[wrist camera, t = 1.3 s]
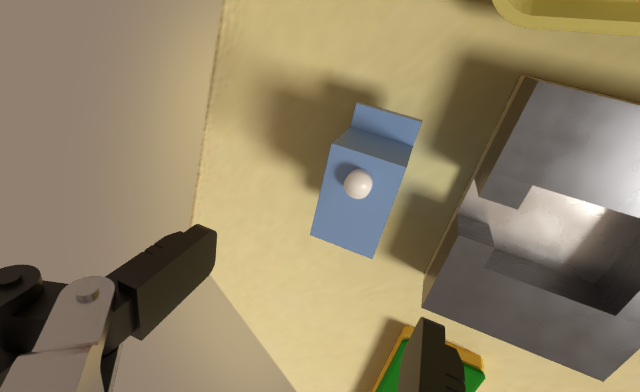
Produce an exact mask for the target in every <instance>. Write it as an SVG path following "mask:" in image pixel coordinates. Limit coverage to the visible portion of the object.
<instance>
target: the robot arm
mask: <svg viewBox="0 0 640 392" xmlns="http://www.w3.org/2000/svg"><path fill="white" fill-rule="evenodd" d="M216 243H217V233H216V231H214V230H212V229H209V228H207V227H204V226H202V225H200V224H196V225H194V226H192V227H191V228H190V229H188V230H187V231H186V232H184V233H183V232H181V231H179V232H176V233H173V234H170V235H167V236H165V237H163V238H162V239H161V240H159V241H158V242H156V243H155V244H154V245H152V246H150V247H149V248H147V249H146V250H145V251H144V252H141V253H140V254H138V255H137V256H135V257H134V258H132V259H131V260H129V261H128V262H127V263H125V264H123V265H122V266H121V267H119V268H118V269H116V270H115V271H113V272H112V273H110V274H109V275H107V276H105V277H101V276H90V277H85V278H81V279H79V280H76V281H74V282H72V283H70V284H64V283H56V282H49V281H42V278H41V274H40V271H39V270H38V269H37V268H36V267H34V266H30V265H13V266H9V267H4V268H1V269H0V392H112V391H113V387H114V382H115V378H116V373H117V369H118V364H119V359H120V355H121V350H122V342H123V341H124V340H125V339H126V338H127V337H129V336H130V335H131V336H133V337H135V338H137V339H139V340H141V341H142V340H143V339H144V338H145V337H146V336H147V335H148V334H149V333H150V332H151V331H152V330H153V329H154V328H155V327H156V326H157V325H158V324H159V323H160V322H161V321H162V320H163V319H164V318H165V317H166V316H167V315H169V314H170V313H171V312H172V311H173V310H174V309H175V308H176V307H177V305H179V304H180V303H181V302H182V301H183V300H184V299H185V298H186V297H187V296H188V295H189V294H190V293H191V292H192V291H193V290H194V289H195V288H196V287H197V286H198V285H199V284H200V283H202V281H204V280H205V279H206V277H208V276H209V274H210V273H211V271H212V269H213V267H214V264H215V258H216ZM464 383H465V373H464V364H463V362H462V360H461V358H460V356H459V353H458V351H457V349H456V348H454V347H451V346H449V345H447V344H445V327H444V326H443V325H441V324H438V323H436V322H434V321H431V320H429V319H426V318H424V317H421V318H420V319H419V321H418V323H417V325H416V327H415V329H414V331H413V333H412V335H411V337H410V338H409V340H408V342H407V344H406V346H405V349H404V352H403V355H402V359H401V364H400V372H399V380H398V387H397V392H466V387H465V384H464Z"/></svg>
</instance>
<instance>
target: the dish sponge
mask: <svg viewBox="0 0 640 392" xmlns="http://www.w3.org/2000/svg"><path fill="white" fill-rule="evenodd" d="M414 329H415V328H414V327H411V326H404V328H403V330H402V332H401V334H400V336H399V338H398V340H397V342H396V344H395V346H394V348H393V350H392V352H391V353H390V355H389V357H388V359H387V361H386V363H385V365H384V367H383V369H382V371H381V373H380V375H379V377H378V379H377V381H376V383H375V385H374V387H373V389H372V391H371V392H397V387H398V380H399V372H400V364H401V359H402V355H403V352H404V349H405V346H406V344H407V342H408V340H409V338H410V337H411V335H412V333H413V331H414ZM445 344H447V345H449V346H451V347H454V348H456V349H457V351H458V353H459V356H460V358H461V360H462V362H463V364H464V373H465V383H464V384H465V387H466V392H475V391H476V390H477V388H478V387H479V386H480V384H481V383H482V382H483V381H484V379H485V375H484V366H483V360H482V358H481V356H479V355H477V354H475V353H472V352H470V351H468V350H465V349H463V348H461V347H458V346H456V345H454V344H451V343H449V342H447V341H445Z"/></svg>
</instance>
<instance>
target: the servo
mask: <svg viewBox="0 0 640 392" xmlns="http://www.w3.org/2000/svg"><path fill="white" fill-rule="evenodd" d="M421 123H422V120H420V119H417V118H413V117H410V116H406V115H403V114H399V113H396V112H393V111H389V110H386V109H382V108H379V107H375V106H372V105H368V104H365V103H361V102H358V103H356V107H355V111H354V115H353V118H352V122H351V126H350V128H349V129H347V130H346V131H345V132H344V133H343V134H342V135H341V136H339V137H338V138H337V139H336V140H335V141H334V142H333V143H332V144H331V148H330V152H329V156H328V161H327V165H326V169H325V173H324V178H323V182H322V186H321V190H320V195H319V199H318V203H317V207H316V212H315V216H314V220H313V224H312V228H311V233H310V235H312V236H314V237H317V238H319V239H322V240H325V241H327V242H330V243H332V244H335V245H337V246H340V247H343V248H345V249H348V250H350V251H353V252H355V253H358V254H361V255H363V256H366V257H368V258H371V259H373V256H374V254H375V251H376V248H377V246H378V243H379V240H380V237H381V235H382V232H383V229H384V227H385V224H386V221H387V219H388V216H389V213H390V211H391V208H392V205H393V202H394V200H395V197H396V194H397V192H398V189H399V186H400V184H401V181H402V178H403V176H404V173H405V170H406V167H407V164H408V161H409V158H410V154H411V151H412V148H413V145H414V142H415V139H416V137H417V134H418V131H419V128H420V126H421Z"/></svg>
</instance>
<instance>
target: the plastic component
mask: <svg viewBox="0 0 640 392" xmlns="http://www.w3.org/2000/svg"><path fill="white" fill-rule="evenodd" d="M492 2H493V4H494V6H495V8H496V9H497V11H498V13H499V14H500V15H501V16H502V17H503V18H504V19H505V20H507V21H509V22H511V23H512V24H514V25H518V26H521V27H524V28H535V29H549V30H563V31H577V32H590V33H604V34H618V35H632V36H640V0H492Z"/></svg>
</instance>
